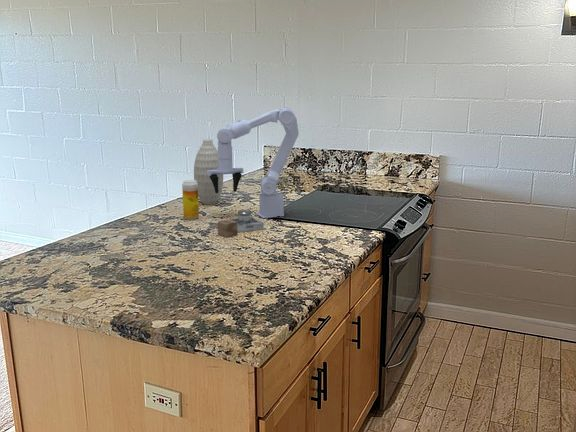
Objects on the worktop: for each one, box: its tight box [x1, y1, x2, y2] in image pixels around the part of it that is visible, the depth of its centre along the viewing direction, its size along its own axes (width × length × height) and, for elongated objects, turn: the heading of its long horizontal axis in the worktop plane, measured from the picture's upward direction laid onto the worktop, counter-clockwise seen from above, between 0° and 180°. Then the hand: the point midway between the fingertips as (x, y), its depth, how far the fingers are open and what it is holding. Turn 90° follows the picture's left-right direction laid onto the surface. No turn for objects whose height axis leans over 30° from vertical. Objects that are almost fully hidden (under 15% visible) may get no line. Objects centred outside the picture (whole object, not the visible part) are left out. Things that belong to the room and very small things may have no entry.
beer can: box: [181, 179, 200, 221], centre depth 229 cm, size 6×6×15 cm
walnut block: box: [217, 218, 239, 239], centre depth 208 cm, size 5×5×5 cm
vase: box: [193, 138, 224, 206], centre depth 252 cm, size 13×13×28 cm
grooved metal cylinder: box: [237, 209, 252, 225], centre depth 218 cm, size 5×5×6 cm
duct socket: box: [225, 215, 264, 233], centre depth 218 cm, size 11×12×2 cm
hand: (225, 192), depth 232 cm, fingers open, 7 cm apart
